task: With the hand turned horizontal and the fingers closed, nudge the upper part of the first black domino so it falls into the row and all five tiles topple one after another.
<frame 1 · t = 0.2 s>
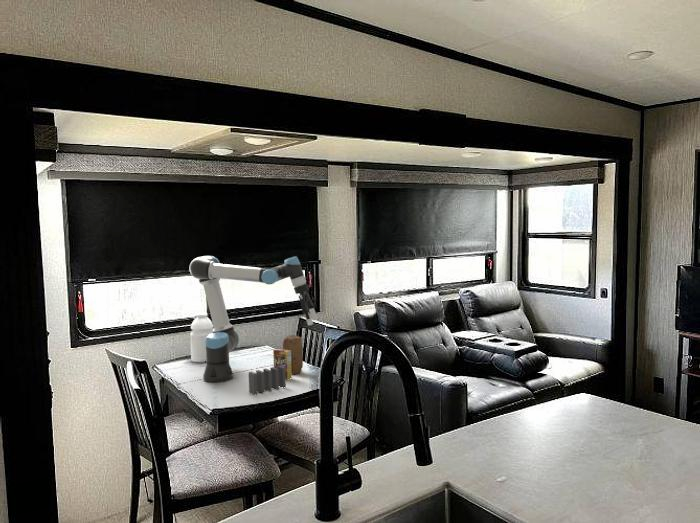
hand: (313, 322, 292), 28 cm above the table, tool tilted 20°, fingers open, 13 cm apart
candy box: (282, 378, 285), on the table
domino 2: (260, 391, 263), on the table
domino 5: (281, 386, 271), on the table
domino 3: (267, 389, 266), on the table
bottle: (203, 360, 325), on the table
domino 1: (253, 393, 261), on the table
domino 4: (274, 388, 268), on the table
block: (292, 372, 296), on the table
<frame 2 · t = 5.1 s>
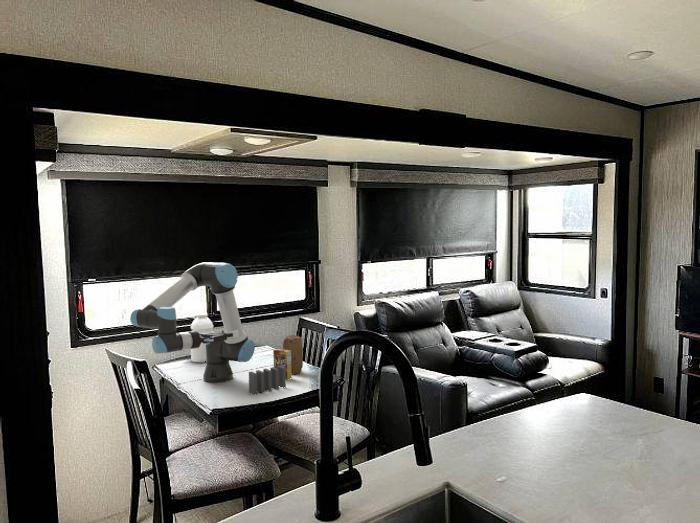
hand: (237, 333, 254), 30 cm above the table, tool horizontal, fingers closed
nothing on the table moved.
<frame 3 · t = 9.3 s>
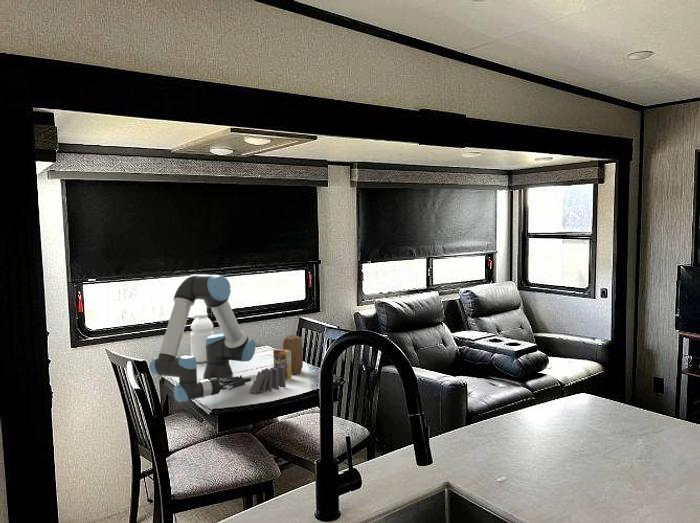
hand: (255, 377, 261), 7 cm above the table, tool horizontal, fingers closed
domino 2: (260, 391, 263), on the table, tilted 18°
domino 1: (253, 392, 261), on the table, tilted 30°
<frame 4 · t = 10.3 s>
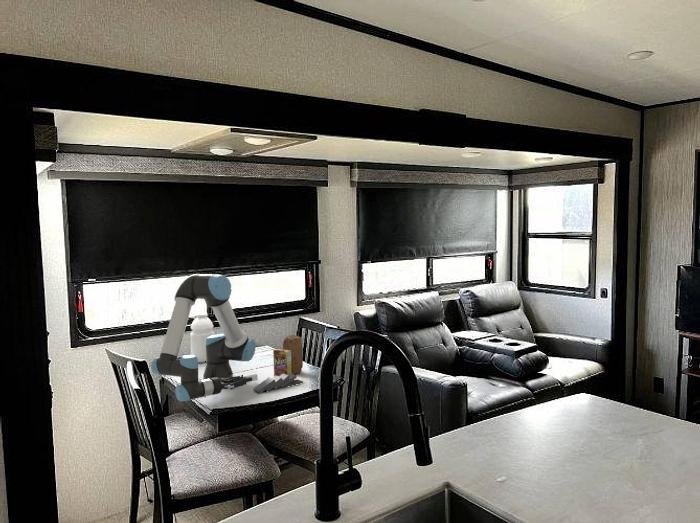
hand: (256, 377, 262), 8 cm above the table, tool horizontal, fingers closed
domino 2: (264, 389, 264), point 1 cm above the table, tilted 67°, touching domino 1, domino 3
domino 5: (283, 385, 272), on the table, tilted 90°, touching domino 4
domino 3: (271, 387, 267), point 1 cm above the table, tilted 67°, touching domino 2, domino 4
domino 1: (256, 391, 262), point 1 cm above the table, tilted 67°, touching domino 2
domino 4: (278, 385, 270), point 1 cm above the table, tilted 72°, touching domino 3, domino 5
everything else where it was.
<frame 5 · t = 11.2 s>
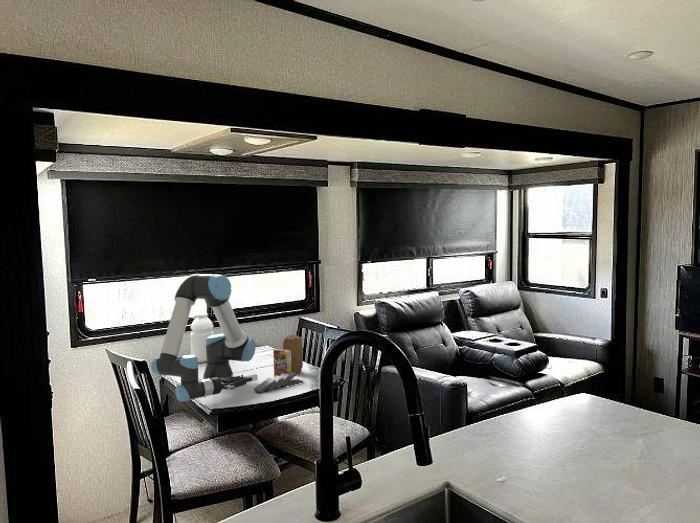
hand: (256, 377, 262), 8 cm above the table, tool horizontal, fingers closed
domino 2: (265, 389, 265), point 1 cm above the table, tilted 68°, touching domino 1, domino 3
domino 3: (273, 386, 268), point 1 cm above the table, tilted 68°, touching domino 2, domino 4
domino 4: (279, 384, 271), point 1 cm above the table, tilted 69°, touching domino 3, domino 5
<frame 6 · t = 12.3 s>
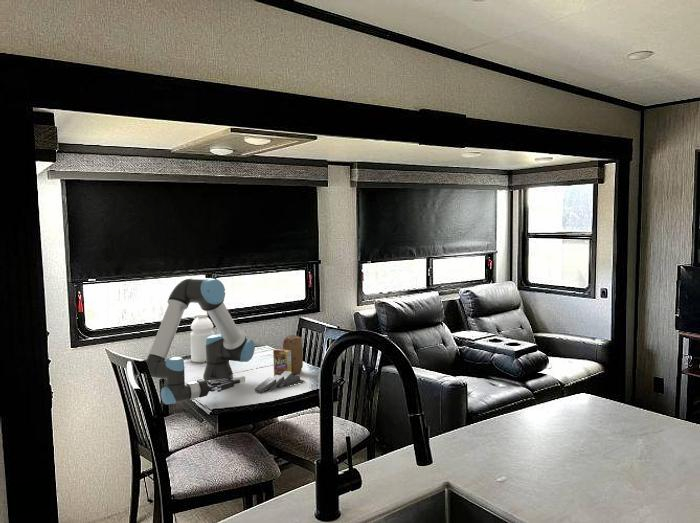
hand: (244, 379, 258), 8 cm above the table, tool horizontal, fingers closed
domino 2: (267, 388, 266), point 1 cm above the table, tilted 67°, touching domino 1, domino 3
domino 3: (276, 385, 270), point 1 cm above the table, tilted 62°, touching domino 2, domino 4
domino 4: (282, 382, 273), point 2 cm above the table, tilted 88°, touching domino 3, domino 5
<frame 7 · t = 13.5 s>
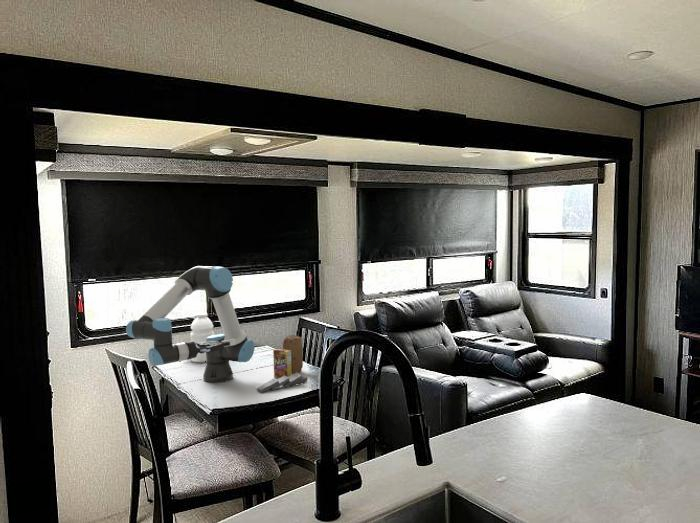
hand: (234, 341, 253), 27 cm above the table, tool horizontal, fingers closed
domino 2: (270, 387, 267), point 1 cm above the table, tilted 70°, touching domino 1
domino 3: (282, 385, 270), point 1 cm above the table, tilted 69°
domino 4: (289, 382, 273), point 1 cm above the table, tilted 89°, touching domino 5
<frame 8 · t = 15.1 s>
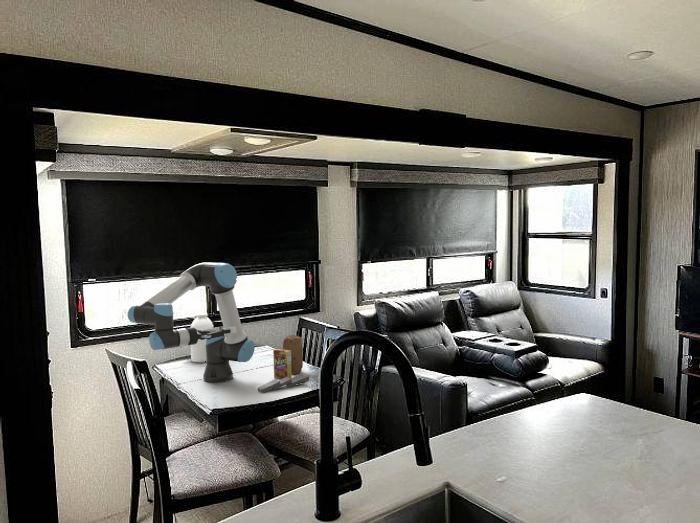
hand: (235, 329, 253), 32 cm above the table, tool horizontal, fingers closed
domino 2: (271, 387, 267), point 1 cm above the table, tilted 74°, touching domino 1, domino 3
domino 3: (285, 384, 271), point 1 cm above the table, tilted 75°, touching domino 2
domino 4: (292, 381, 275), point 1 cm above the table, tilted 91°, touching domino 5
at the end: domino 5 tilted 90°; domino 3 tilted 75°; domino 1 tilted 75° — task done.
